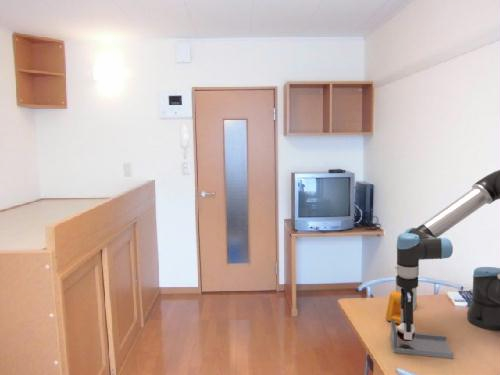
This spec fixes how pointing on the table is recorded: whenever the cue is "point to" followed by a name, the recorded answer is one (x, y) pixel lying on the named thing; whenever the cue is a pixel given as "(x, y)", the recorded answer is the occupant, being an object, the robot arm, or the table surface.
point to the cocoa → (401, 329)
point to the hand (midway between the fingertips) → (406, 332)
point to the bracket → (394, 307)
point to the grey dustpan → (421, 344)
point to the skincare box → (398, 289)
